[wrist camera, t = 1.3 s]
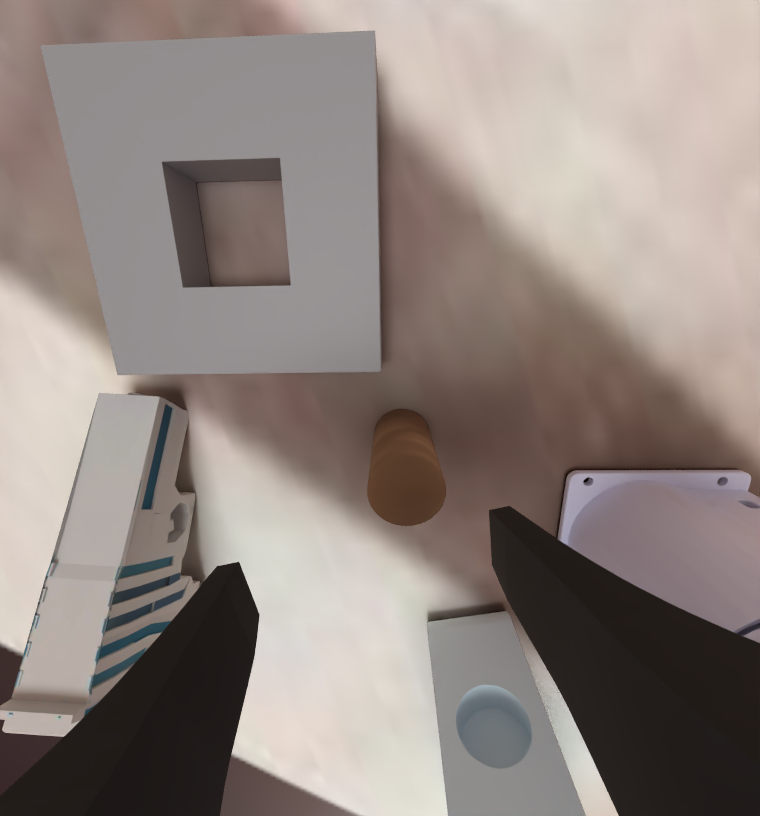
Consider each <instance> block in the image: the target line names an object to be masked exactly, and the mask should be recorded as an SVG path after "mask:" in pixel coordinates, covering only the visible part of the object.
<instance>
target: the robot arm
mask: <svg viewBox="0 0 760 816" xmlns="http://www.w3.org/2000/svg"><path fill="white" fill-rule="evenodd" d="M588 477H589V480H588V481H587V482H584V483H583V481H584V479H586V478H588ZM720 478H721V479H720ZM719 479H720V480H719ZM718 480H719V481H718ZM717 481H718V482H717ZM750 482H751V476H750V475H749V474H748V473H746V472H744V471H742V470H576V471H572V472H571V473H569V474H568V476H567V478H566V485H565V492H564V498H563V505H562V512H561V519H560V526H559V532H558V539H557V538H555V537H554V536H552V535H551V534H549V533H548V532H546V531H545V530H544V529H542V528H541V527H539V526H538V525H536V524H535V523H533V522H532V521H531V520H529V519H528V518H526V517H525V516H523V515H522V514H520V513H519V512H518V511H516V510H515V509H513V508H512V507H510V506H507V507H502V508H498V509H493V510H489V517H490V535H491V553H492V566H493V568H494V570H495V573H496V575H497V577H498V580H499V582H500V584H501V587H502V589H503V591H504V593H505V595H506V598H507V600H508V602H509V603H510V605H511V607H512V609H513V610H514V612H515V614H516V616H517V617H518V619H519V621H520V623H521V625H522V626H523V628H524V630H525V631H526V633H527V635H528V637H529V638H530V640H531V642H532V644H533V645H534V647H535V649H536V650H537V652H538V654H539V656H540V657H541V659H542V661H543V663H544V664H545V666H546V668H547V669H548V671H549V673H550V675H551V676H552V678H553V680H554V682H555V683H556V685H557V687H558V689H559V691H560V693H561V695H562V696H563V698H564V700H565V702H566V704H567V706H568V708H569V710H570V712H571V714H572V716H573V718H574V721H575V723H576V725H577V727H578V729H579V731H580V733H581V735H582V737H583V739H584V741H585V744H586V746H587V748H588V750H589V752H590V754H591V756H592V758H593V761H594V763H595V765H596V767H597V769H598V771H599V774H600V776H601V778H602V780H603V782H604V784H605V787H606V789H607V791H608V793H609V795H610V797H611V800H612V802H613V804H614V806H615V808H616V811H617V813H618V815H619V816H760V497H758V496H756V495H754V494H752V493H750V492H748V489H749V486H750ZM258 623H259V613H258V610H257V607H256V605H255V602H254V600H253V597H252V594H251V592H250V589H249V587H248V584H247V581H246V579H245V576H244V574H243V571H242V568H241V566H240V563H239V562H236V563H231V564H227V565H222V566H217V567H216V568H215V569H214V571H213V572H212V573H211V574H210V575H209V576H208V578H207V579H206V580H205V581H204V582H203V584H202V585H201V586H200V587H199V588H198V590H197V591H196V592H195V593H194V595H193V596H192V597H191V598H190V599H189V601H188V602H187V603H186V604H185V606H184V607H183V608H182V609H181V610H180V612H179V613H178V614H177V615H176V616H175V617H174V619H173V620H172V621H171V622H170V623H169V625H168V626H167V627H166V628H165V629H164V631H163V632H162V633H161V634H160V635H159V637H158V638H157V639H156V640H155V641H154V642H153V643H152V644H151V646H150V647H149V648H148V649H147V650H146V651H145V652H144V653H143V655H142V656H141V657H140V658H139V659H138V660H137V661H136V662H135V663H134V665H133V666H132V667H131V668H130V669H129V670H128V671H127V672H126V673H125V675H124V676H123V677H122V678H121V679H120V680H119V681H118V682H117V683H116V685H115V686H114V687H113V688H112V689H111V690H110V691H109V692H108V693H107V694H106V695H105V696H104V697H103V698H102V699H101V700H100V701H99V702H98V703H97V704H96V705H95V706H94V707H93V708H92V709H91V710H90V711H89V712H88V713H87V714H86V715H85V716H84V717H83V718H82V719H81V720H80V721H79V722H78V723H77V724H76V725H75V726H74V727H73V728H72V729H71V730H70V731H69V732H68V733H67V734H66V735H65V736H64V737H63V738H62V739H61V740H60V741H59V742H58V743H57V744H56V745H55V746H54V747H53V748H52V749H51V750H50V751H48V752H47V753H46V754H45V755H44V756H43V757H42V758H41V759H40V760H39V761H38V762H37V763H35V764H34V766H32V767H31V768H30V769H29V770H28V771H27V772H26V773H25V774H23V775H22V777H20V778H19V779H18V780H17V781H16V782H15V783H14V784H13V785H12V786H10V787H9V788H8V789H7V790H6V791H5V792H4V793H3V794H2V795H0V816H220V811H221V804H222V798H223V791H224V786H225V781H226V776H227V771H228V766H229V761H230V757H231V753H232V749H233V745H234V740H235V736H236V732H237V728H238V724H239V720H240V715H241V711H242V707H243V703H244V699H245V695H246V690H247V686H248V682H249V677H250V673H251V669H252V664H253V660H254V655H255V648H256V641H257V632H258Z"/></svg>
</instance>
